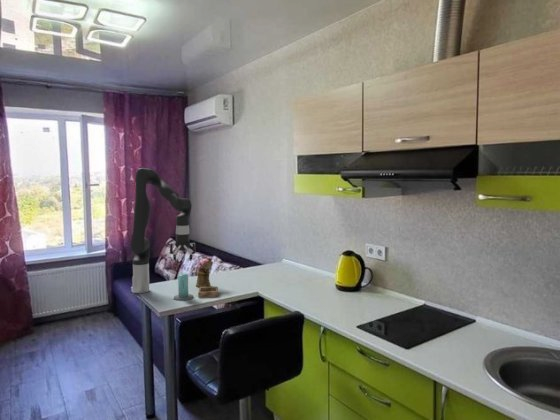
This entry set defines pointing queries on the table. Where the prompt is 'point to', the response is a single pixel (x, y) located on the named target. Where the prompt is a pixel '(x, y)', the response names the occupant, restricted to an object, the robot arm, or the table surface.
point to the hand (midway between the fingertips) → (182, 260)
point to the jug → (183, 285)
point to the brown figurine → (204, 275)
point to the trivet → (183, 298)
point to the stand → (208, 292)
